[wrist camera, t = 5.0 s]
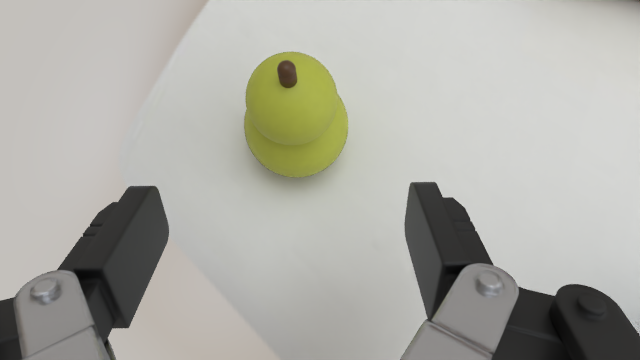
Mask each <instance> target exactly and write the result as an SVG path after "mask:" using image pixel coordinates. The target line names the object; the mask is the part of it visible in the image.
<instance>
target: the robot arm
mask: <svg viewBox="0 0 640 360" xmlns="http://www.w3.org/2000/svg"><path fill="white" fill-rule="evenodd" d="M168 237H169V226H168V221H167V218H166V214H165V211H164V207H163V204H162V201H161V197H160V194H159V191H158V189H157V187H156V186H130V187H129V188H128V189H127V190H126V191H125V193H124V194H123V196H122V197H121V199H120V200H119V202H113V203H111V204H110V205H108V206H107V207H106V208H104V209H103V210H102V211H100V212H99V213H98V214H97V216H96V217H95V218H94V220H93V221H92V222H91V224H90V227H88V228H87V229H86V231H85V232H84V233H83V237H81V238H80V239H79V241H78V242H77V243H76V245H75V246H74V247H73V249H72V250H71V252H70V253H69V254H68V256H67V257H66V258H65V260H64V261H63V263H62V264H61V265H60V267H59V268H58V269H57V270H56V271H51V272H47V273H45V274H42V275H40V276H38V277H36V278H34V279H32V280H31V281H29V282H28V283H26V284H25V285H24V286H23V287H22V288H21V289H20V290H19V291H18V293H17V294H16V297H14V298H10V299H6V300H2V301H0V360H116V358H115V355H114V352H113V350H112V348H111V344H110V342H109V340H108V336H109V334H110V332H111V330H112V328H129V326H130V324H131V321H132V319H133V317H134V315H135V313H136V310H137V308H138V306H139V304H140V302H141V299H142V297H143V295H144V292H145V290H146V288H147V286H148V283H149V281H150V279H151V277H152V275H153V273H154V270H155V268H156V266H157V264H158V262H159V259H160V257H161V255H162V253H163V251H164V248H165V246H166V244H167V241H168ZM405 237H406V242H407V245H408V249H409V252H410V256H411V260H412V263H413V267H414V270H415V274H416V278H417V281H418V285H419V288H420V292H421V296H422V299H423V303H424V307H425V310H426V314H427V317H428V319H426V320H425V321H424V323H423V324H422V325H421V327H420V328H419V330H418V332H417V333H416V335H415V336H414V338H413V340H412V341H411V343H410V344H409V346H408V348H407V349H406V351H405V353H404V354H403V356H402V357H401V359H400V360H640V336H639V334H638V333H637V331H636V330H635V328H634V327H633V326H632V324H631V323H630V321H629V320H628V318H627V317H626V315H625V314H624V313H623V311H622V310H621V308H620V307H619V306H618V305H617V303H615V302H614V301H613V300H612V299H611V298H610V297H608V296H607V295H605V294H604V293H602V292H600V291H598V290H596V289H594V288H591V287H588V286H584V285H578V284H570V285H565V286H563V287H561V288H560V289H559V290H558V291H557V293H556V295H555V296H552V295H548V294H543V293H539V292H535V291H530V290H527V289H523V288H521V287H518V285H517V283H516V282H515V280H514V279H513V278H512V277H511V276H510V275H509V274H508V273H507V272H505V271H504V270H502V269H500V268H498V267H496V266H494V265H493V263H492V261H491V259H490V257H489V255H488V253H487V251H486V249H485V247H484V245H483V243H482V241H481V239H480V237H479V235H478V233H477V231H475V227H474V225H473V224H472V222H470V218H469V216H468V214H467V212H466V210H465V208H464V207H463V206H462V205H461V204H460V203H458V202H457V201H456V200H455V199H454V198H443V197H442V195H441V193H440V190H439V188H438V186H437V184H436V183H435V182H412V183H411V184H410V187H409V193H408V201H407V208H406V216H405Z"/></svg>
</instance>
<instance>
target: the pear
mask: <svg viewBox="0 0 640 360" xmlns="http://www.w3.org/2000/svg"><path fill="white" fill-rule="evenodd" d="M246 107H247V110H246V113H245V121H244V129H245V136H246V140H247V142H248V145H249V148H250V149H251V151H252V153H253V155H254V156H255V157H256V158H257V160H258V161H259V162H260V163H261V164H262V165H264V166H265V167H266V168H268V169H269V170H271V171H273V172H275V173H277V174H280V175H283V176H288V177H306V176H310V175H313V174H316V173H318V172H320V171H322V170H324V169H325V168H327V167H328V166H329V165H331V164H332V163H333V162H334V161H335V160H336V158H337V157H338V156H339V154H340V153H341V151H342V149H343V147H344V144H345V142H346V138H347V134H348V117H347V112H346V109H345V106H344V104H343V102H342V100H341V98H340V96H339V95H338V94H337V90H336V86H335V83H334V80H333V78H332V76H331V74H330V73H329V71H328V70H327V69H326V68H325V67H324V66H323V65H322V64H321V63H320V62H319V61H318V60H316V59H315V58H313V57H311V56H309V55H306V54H303V53H299V52H283V53H279V54H276V55H273V56H271V57H269V58H267V59H266V60H264V61H263V62H262V63H261V64H260V65H259V66H258V67H257V68H256V69H255V70H254V72H253V73H252V75H251V77H250V79H249V82H248V85H247V89H246Z"/></svg>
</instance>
